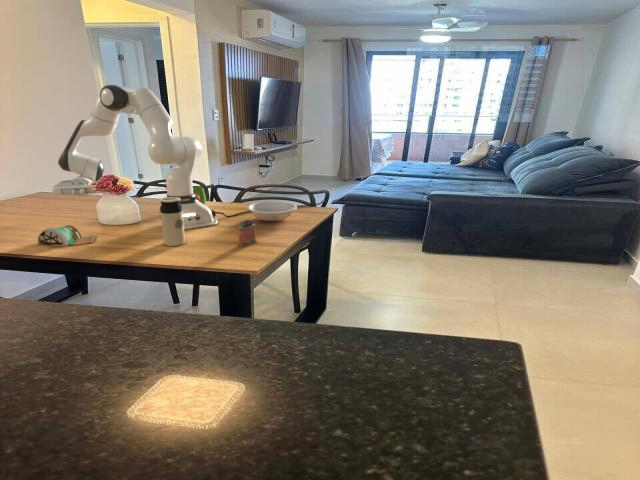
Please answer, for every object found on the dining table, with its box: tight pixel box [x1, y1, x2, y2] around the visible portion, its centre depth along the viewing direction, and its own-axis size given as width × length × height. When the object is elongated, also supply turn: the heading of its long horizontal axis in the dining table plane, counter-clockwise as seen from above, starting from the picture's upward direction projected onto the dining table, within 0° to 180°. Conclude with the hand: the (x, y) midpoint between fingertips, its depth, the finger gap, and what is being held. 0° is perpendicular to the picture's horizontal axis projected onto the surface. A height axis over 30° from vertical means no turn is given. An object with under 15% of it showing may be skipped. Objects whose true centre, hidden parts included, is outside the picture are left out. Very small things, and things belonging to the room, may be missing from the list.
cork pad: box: [49, 235, 96, 248], centre depth 151 cm, size 14×9×1 cm, turn 112°
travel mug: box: [159, 196, 186, 247], centre depth 149 cm, size 8×8×18 cm
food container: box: [37, 224, 82, 247], centre depth 149 cm, size 12×6×10 cm
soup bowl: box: [246, 200, 298, 222], centre depth 186 cm, size 24×24×7 cm
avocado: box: [193, 185, 207, 205], centre depth 205 cm, size 8×8×12 cm
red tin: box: [237, 218, 257, 247], centre depth 151 cm, size 8×3×10 cm, turn 141°
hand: (77, 192), depth 165 cm, fingers closed
